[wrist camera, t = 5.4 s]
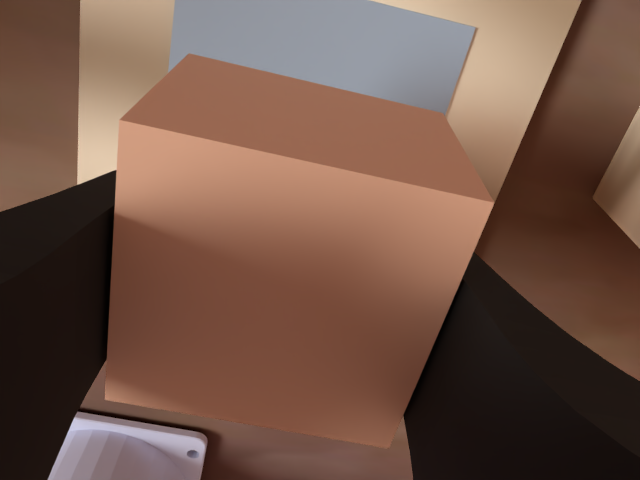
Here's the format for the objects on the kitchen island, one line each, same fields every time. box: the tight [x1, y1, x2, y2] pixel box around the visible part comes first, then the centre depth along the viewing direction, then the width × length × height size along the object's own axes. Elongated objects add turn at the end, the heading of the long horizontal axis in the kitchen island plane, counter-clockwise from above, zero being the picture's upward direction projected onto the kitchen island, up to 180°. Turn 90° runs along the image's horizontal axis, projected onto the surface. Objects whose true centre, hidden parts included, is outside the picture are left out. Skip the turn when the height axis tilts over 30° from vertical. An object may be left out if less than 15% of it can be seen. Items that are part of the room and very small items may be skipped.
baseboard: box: [77, 0, 582, 250], centre depth 17 cm, size 13×13×1 cm
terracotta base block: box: [105, 53, 494, 449], centre depth 10 cm, size 5×5×4 cm
